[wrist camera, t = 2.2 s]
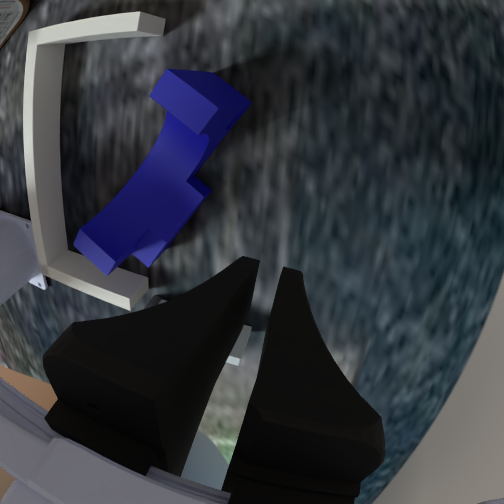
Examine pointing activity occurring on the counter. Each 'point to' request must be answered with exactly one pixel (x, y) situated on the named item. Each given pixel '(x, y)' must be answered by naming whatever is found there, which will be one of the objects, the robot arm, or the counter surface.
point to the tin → (11, 17)
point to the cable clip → (165, 172)
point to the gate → (239, 345)
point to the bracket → (48, 153)
